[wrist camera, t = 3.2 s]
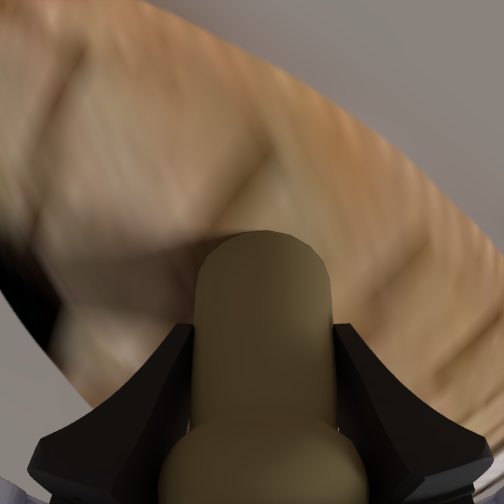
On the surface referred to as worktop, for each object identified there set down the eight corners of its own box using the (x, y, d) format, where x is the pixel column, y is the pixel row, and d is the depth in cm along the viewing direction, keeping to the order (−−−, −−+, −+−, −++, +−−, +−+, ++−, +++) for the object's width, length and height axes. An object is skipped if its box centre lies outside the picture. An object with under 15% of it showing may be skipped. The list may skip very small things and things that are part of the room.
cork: (269, 359, 16) (272, 569, 7) (171, 298, 15) (95, 532, 5) (356, 284, 14) (440, 524, 4) (253, 201, 13) (234, 516, 3)
